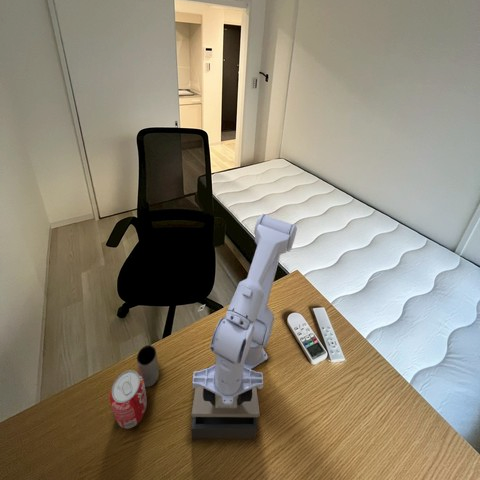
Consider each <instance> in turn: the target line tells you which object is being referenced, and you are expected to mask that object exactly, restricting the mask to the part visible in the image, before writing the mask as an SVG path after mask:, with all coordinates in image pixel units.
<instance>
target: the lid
mask: <svg viewBox="0 0 480 480" xmlns="http://www.w3.org/2000/svg"><path fill="white" fill-rule="evenodd" d="M237 398H238V395H237V396H235V397H234V398H233V403H232V405H224V404H223V402H222V397H221V396H219V395H217V394H215V405H212V404H211V402H210V401H204V399H203V387H200V386H198V387H197V388H194V394H193V402H192V407H191V418H193V417H257V418H260V416H261V414H260V406H259V405H260V404H259V398H258V388H257V387H254V388H252V399H251V401H249V402H243V403H242V404H241V405H237Z"/></svg>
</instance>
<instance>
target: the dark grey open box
mask: <svg viewBox="0 0 480 480" xmlns="http://www.w3.org/2000/svg"><path fill="white" fill-rule="evenodd" d="M190 431H191V439H192V440H256V436H257V432H258V417H192V420H191V430H190Z"/></svg>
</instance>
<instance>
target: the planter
mask: <svg viewBox="0 0 480 480" xmlns="http://www.w3.org/2000/svg"><path fill="white" fill-rule="evenodd" d="M136 362H137V363H136V364H137V368H138V373H139V374H140V375H141V376H142V378H143V381H144V385H145V388H149V387H152V386H154V385H155V384H156V382H157V381H158V379H159V376H160V372H159V370H160V369H159V363H158V355H157V349H156V347H155V346H153V345H152V344H147V345H144V346H142V348H140V349H139V350H138V352H137V354H136Z"/></svg>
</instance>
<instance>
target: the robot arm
mask: <svg viewBox="0 0 480 480" xmlns="http://www.w3.org/2000/svg"><path fill="white" fill-rule="evenodd" d="M297 231H298V226H297V224H295V223H291V222H288V221H284V220H281V219H278V218H275V217H272V216H269V215H266V213H265V214H264V213H262V214H261V215H259V216H258V218H257V220H256V222H255V225H254V230H253V235H254V243H255V244H256V248H255V252H254V255H253V257H252V262H251V264H250V268H249V271H248V274H247V277H246V278H245V279H243V280H241V281H239V282H238V285H237V287H236V289H235V292H234V294H233V297H232V298H231V301H230V303H229V305H228V308H227V311H226V313H225V315H224V317H221V318H220V319H219V321H218V323H217V324H216V326H215V329H214V331H213V333H212V336H211V340H210V346H209V350H210V351H212V353H213V354H214V355H215V362H214V365H212V366H207V367H206V368H204V369H202V370H197V371H195V370H194V371H193V376H192V389H195V388H197V387H198V386H200V387H203V399H204V401H210V402H211V404H212V405H215V394H217V395H219V396H221V397H222V402H223V404H224V405H232V403H233V398H234V397H235V396H237V395H238V398H237V405H241V404H242V403H243V402H249V401H251V399H252V388H254V387H256V389H257V390H263V388H264V376H263V372H259V371H255V370H253V369H255V368H256V367H257V366H258V365H261V364H262V363H264V362H265V361H266V360H268V354H267V352H266V351H265V349H264V348H266V347H267V346H268V344H269V342H270V339H271V335H272V331H273V328H274V322H275V313H274V312H273V311H272V309H270V307H269V305H268V304H269V300H270V296H271V292H272V288H273V284H274V281H275V276H276V273H277V268H278V265H279V261H280V258H281V255H283V254H286V253H288V252H291V250H292V248H293V246H294V242H295V240H296V236H297Z"/></svg>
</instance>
